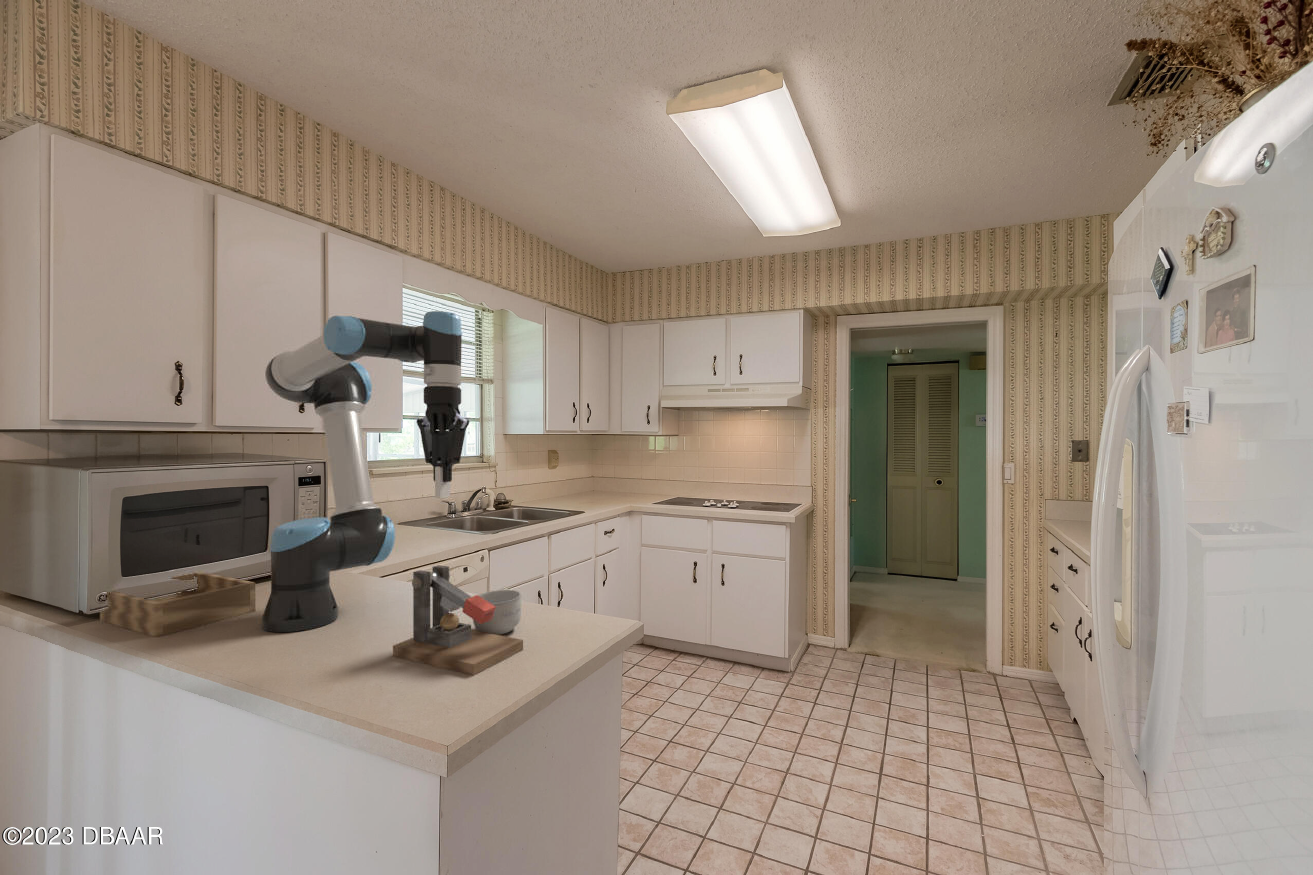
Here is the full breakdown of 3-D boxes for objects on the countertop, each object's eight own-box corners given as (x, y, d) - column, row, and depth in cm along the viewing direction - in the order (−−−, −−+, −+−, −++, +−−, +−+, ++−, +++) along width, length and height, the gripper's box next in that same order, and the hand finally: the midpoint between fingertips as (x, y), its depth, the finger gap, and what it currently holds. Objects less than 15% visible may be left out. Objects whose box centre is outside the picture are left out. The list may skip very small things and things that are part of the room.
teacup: (508, 641, 126) (508, 603, 126) (461, 637, 128) (461, 600, 128) (534, 620, 139) (534, 586, 139) (491, 617, 142) (491, 583, 142)
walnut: (436, 632, 119) (436, 614, 119) (449, 626, 123) (449, 609, 123) (449, 634, 118) (449, 616, 118) (462, 629, 121) (462, 611, 121)
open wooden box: (100, 620, 138) (99, 590, 138) (199, 598, 156) (199, 571, 156) (156, 636, 127) (155, 604, 127) (255, 610, 145) (255, 582, 145)
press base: (392, 655, 117) (392, 574, 117) (446, 633, 130) (446, 560, 130) (474, 675, 108) (474, 587, 108) (523, 649, 121) (523, 571, 121)
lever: (417, 590, 122) (422, 570, 121) (429, 587, 125) (435, 567, 124) (477, 632, 115) (484, 611, 114) (489, 627, 118) (495, 606, 117)
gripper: (406, 385, 125) (406, 497, 125) (452, 384, 119) (452, 500, 120) (433, 388, 132) (433, 494, 132) (478, 386, 126) (478, 497, 127)
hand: (442, 497), depth 126 cm, fingers closed
